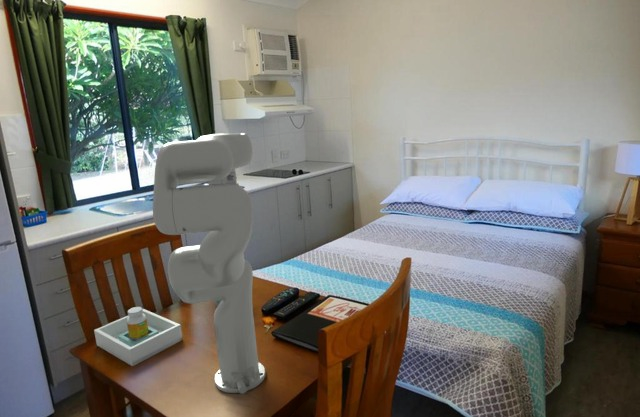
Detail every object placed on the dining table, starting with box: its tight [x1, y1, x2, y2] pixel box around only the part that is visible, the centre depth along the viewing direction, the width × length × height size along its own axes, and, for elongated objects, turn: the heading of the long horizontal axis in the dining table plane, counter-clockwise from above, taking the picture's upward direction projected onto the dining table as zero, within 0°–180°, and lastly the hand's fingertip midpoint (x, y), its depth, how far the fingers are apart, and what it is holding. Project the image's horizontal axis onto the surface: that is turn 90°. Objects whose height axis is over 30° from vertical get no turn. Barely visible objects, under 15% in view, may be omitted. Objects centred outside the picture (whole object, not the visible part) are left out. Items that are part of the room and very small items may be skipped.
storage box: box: [93, 308, 184, 367], centre depth 130 cm, size 20×16×5 cm
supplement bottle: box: [127, 306, 149, 341], centre depth 129 cm, size 5×5×10 cm
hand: (229, 237), depth 125 cm, fingers open, 9 cm apart
